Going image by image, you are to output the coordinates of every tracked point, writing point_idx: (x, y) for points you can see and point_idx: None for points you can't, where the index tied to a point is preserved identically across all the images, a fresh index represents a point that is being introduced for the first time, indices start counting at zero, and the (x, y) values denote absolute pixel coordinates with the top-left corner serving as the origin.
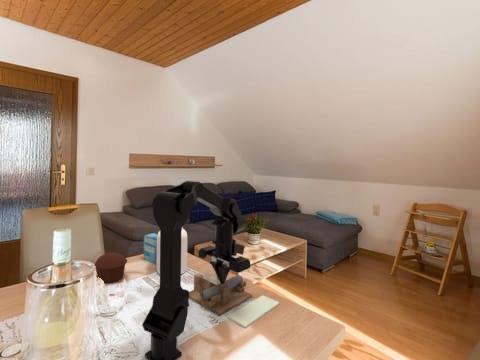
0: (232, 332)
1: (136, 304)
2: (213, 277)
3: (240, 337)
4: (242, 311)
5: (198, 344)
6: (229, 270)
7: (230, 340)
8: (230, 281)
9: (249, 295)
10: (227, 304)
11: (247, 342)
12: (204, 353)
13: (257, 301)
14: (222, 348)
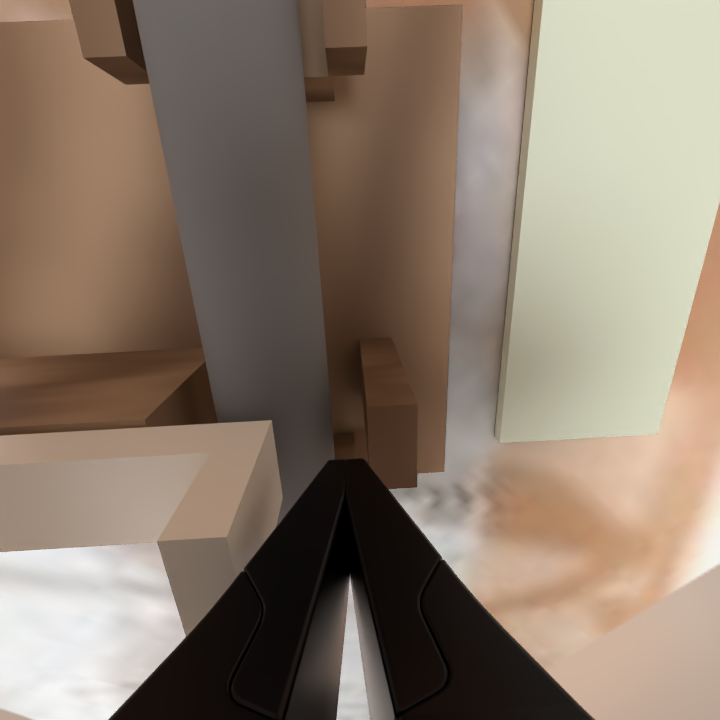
0: (600, 496)
1: (22, 688)
2: (128, 495)
3: (660, 493)
4: (550, 327)
5: (518, 635)
6: (526, 663)
7: (626, 538)
8: (277, 233)
9: (453, 53)
10: (406, 360)
11: (711, 493)
12: (575, 643)
13: (575, 76)
14: (623, 588)
